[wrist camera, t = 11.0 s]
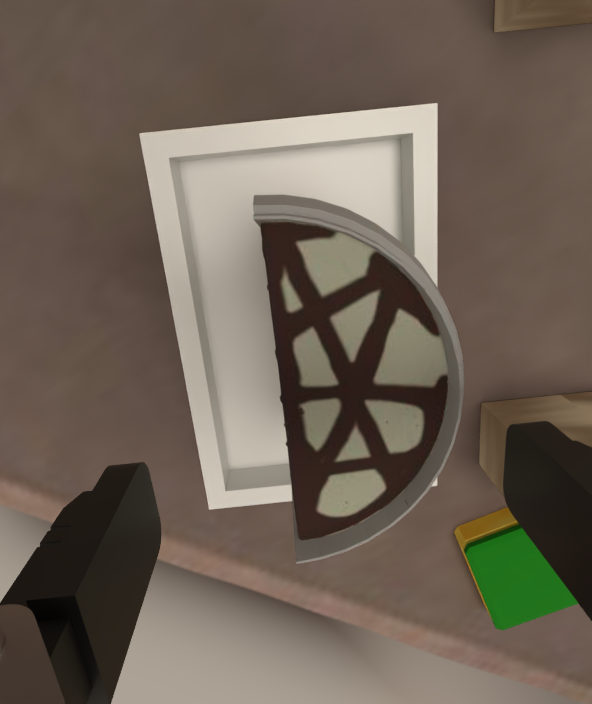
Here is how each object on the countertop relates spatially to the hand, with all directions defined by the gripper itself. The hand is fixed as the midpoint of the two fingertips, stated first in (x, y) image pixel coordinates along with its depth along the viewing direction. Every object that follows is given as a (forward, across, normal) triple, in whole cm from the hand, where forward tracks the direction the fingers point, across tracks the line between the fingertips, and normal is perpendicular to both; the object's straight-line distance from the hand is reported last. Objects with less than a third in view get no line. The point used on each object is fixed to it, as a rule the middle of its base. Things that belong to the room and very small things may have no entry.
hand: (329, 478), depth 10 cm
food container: (+14, -2, 0) cm, 14 cm away
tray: (+15, 0, 0) cm, 15 cm away
